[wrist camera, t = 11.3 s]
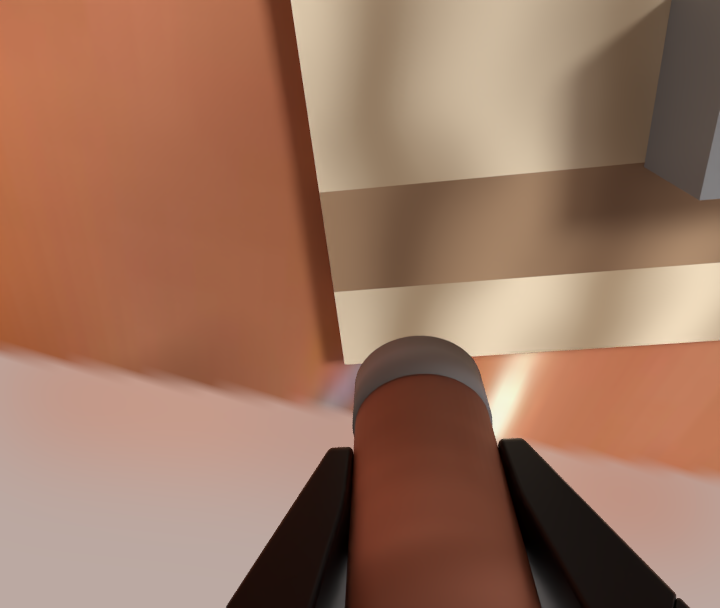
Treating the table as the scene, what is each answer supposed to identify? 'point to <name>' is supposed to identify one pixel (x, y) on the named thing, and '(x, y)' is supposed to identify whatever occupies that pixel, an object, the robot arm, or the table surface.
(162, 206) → the table surface
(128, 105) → the table surface
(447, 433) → the brown cylinder
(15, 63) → the table surface
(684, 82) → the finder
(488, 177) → the board
